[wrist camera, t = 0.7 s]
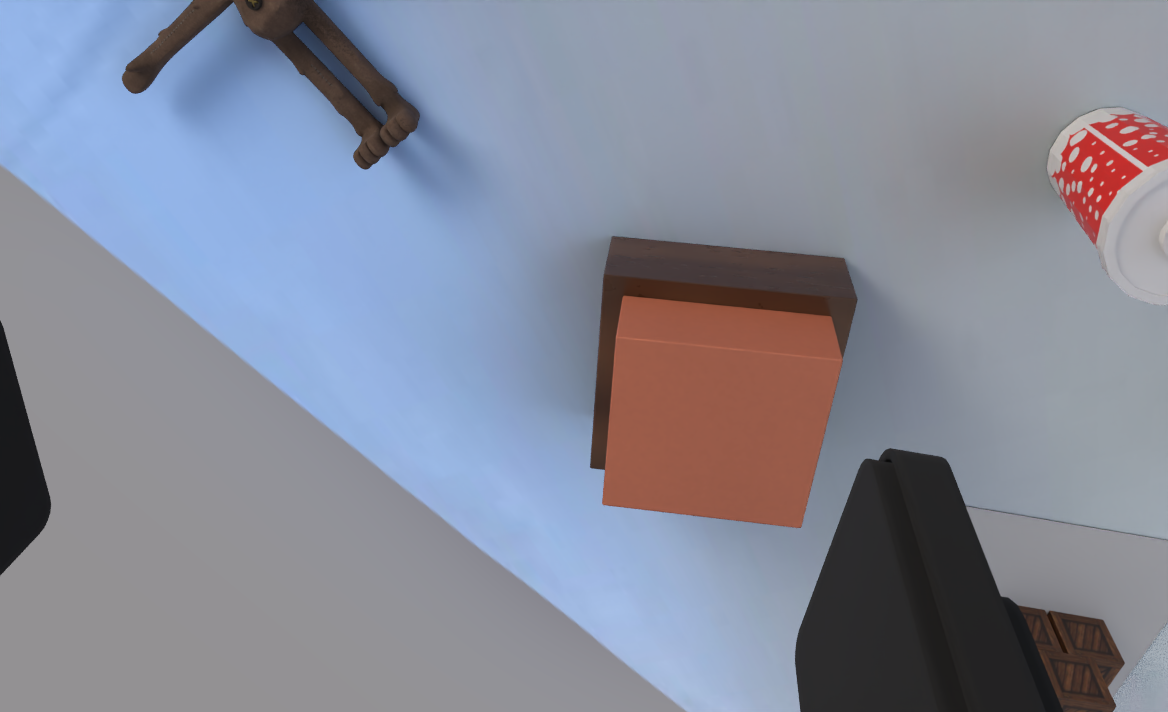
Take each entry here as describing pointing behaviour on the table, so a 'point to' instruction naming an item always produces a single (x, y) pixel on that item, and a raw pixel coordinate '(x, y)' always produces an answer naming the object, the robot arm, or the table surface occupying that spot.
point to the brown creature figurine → (273, 12)
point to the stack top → (718, 409)
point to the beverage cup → (1119, 194)
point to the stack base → (712, 294)
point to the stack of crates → (1079, 598)
